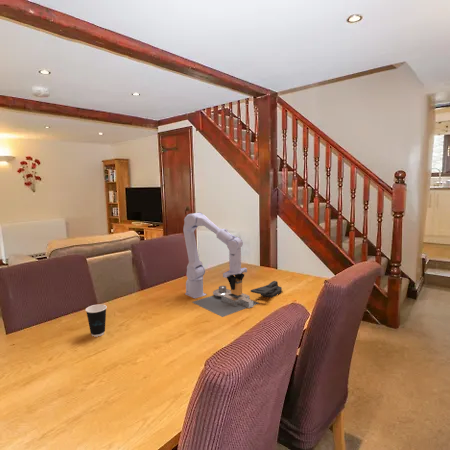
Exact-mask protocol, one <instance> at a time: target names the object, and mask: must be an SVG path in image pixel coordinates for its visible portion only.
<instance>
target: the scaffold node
mask: <svg viewBox="0 0 450 450" xmlns="http://www.w3.org/2000/svg"><path fill="white" fill-rule="evenodd" d="M213 295H215V296H218V297H221V301H223V302H225V303H227V304H230V305H232V306H234V307H235V306H238V305H242V306H244V307H247V308H246V309H251V308H254V306H253V301H254V300H252V299H250V295H249V294H246V293H243V292H242V294H241V295H238V296H237V295H235V294H232V293H231V289H228V288H227V286H226V285H219V286H218V289H215V290H213V291H212V296H213Z"/></svg>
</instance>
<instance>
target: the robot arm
mask: <svg viewBox="0 0 450 450" xmlns="http://www.w3.org/2000/svg"><path fill="white" fill-rule="evenodd" d="M183 221H184V224H183V229H182V230H183V236H184V242H185V247H186V252H187V257H188V258H187V259H188V263H187V266H186V278H187V279H186V282H185V293H184V294H185V295H186V296H188V297H190V298H193V299H197V298H198V299H199V298H202V297H204V296H207V293H204V275H205V274H206V268H205V267H204V265H203V262H202V261H201V260H200V258H199V257H200V256H199V250H198V246H197V240H196V234H195V232H196V229H197V228H198V227H205V228H206V229H208V230H210V231H211V232H213V234H215V235H216V238H217V239H218V240H220V241H221V242H222V243H223V244H225V245H226V247H227V249H228V250H229V251H228V253H229V255H228V256H229V257H228V258H229V261H228V263H229V270H228V271H225V272H223V273H222V278H225V279H226V280H227V281H228V284H229V286H230V290H231V289H232V290H235V281H236V279H239V280H242V281H243V280H244V277H245V273H247V272H248V268H247V267H242V247H243V243H244V242H243V240H242V239H241V237H239V236H236V235H235V234H232V233H230V232H229V231H228V229H227V228H220V227H219V226H218V225H216V224H215V223H214V222H213V221H212V220H210V218H208V217H207V215H205V214H203V213H202V212H194V213H193V212H192V213H188V214H187V215H186V216H185V217H184V219H183Z"/></svg>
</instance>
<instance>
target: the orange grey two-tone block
mask: <svg viewBox="0 0 450 450" xmlns="http://www.w3.org/2000/svg"><path fill="white" fill-rule="evenodd" d="M230 290H231V293H232V294H235V295H237V296H238V295H241V294H242V293H243V279H242V280H239V279H236V281H235V290H232V289H231V288H230Z"/></svg>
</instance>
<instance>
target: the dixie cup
mask: <svg viewBox="0 0 450 450" xmlns="http://www.w3.org/2000/svg"><path fill="white" fill-rule="evenodd" d="M107 308H108V307H107V305H106V304H99V303H98V304H93V305H89V306H88V307H86V308H85V309H84V310H85V312H86V317H87V322H88V327H89V332H90V335H91V337H93V336H94V338H98V336H99V337H102V336H104V335H105V331H106V321H107V319H106V315H107Z"/></svg>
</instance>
